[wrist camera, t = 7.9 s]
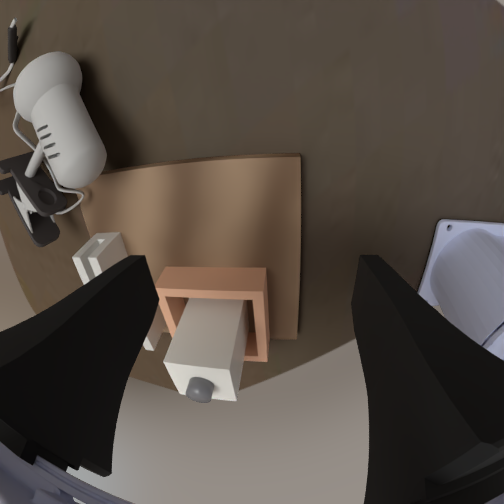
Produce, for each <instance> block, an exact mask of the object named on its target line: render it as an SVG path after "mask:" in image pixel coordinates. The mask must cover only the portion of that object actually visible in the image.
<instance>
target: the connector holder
mask: <svg viewBox="0 0 504 504" xmlns="http://www.w3.org/2000/svg"><path fill="white" fill-rule="evenodd" d="M155 287H156V290H157V293H158V296H159V299H160V300H159V305H160V308H161V311H162V313H163V316H164V319H165V321H166V324H167V326H168V329H169V331H170V334H171V336H172V339H173V336H174V334H175V331H176V329H177V326H178V324H179V321H180V319H181V316H182V314H183V312H184V309H185V307H186V306H185V303H184V299H183V297H187V298H209V299H238V300H253V309H254V319H255V329H256V333H252V332H248V337H247V343H246V349H245V355H244V361H259V362H268V352H269V341H270V332H269V312H268V292H267V273H266V268H239V267H165V269H164V270H163V272H162V274H161V275H160V277H159V279H158V280H157V282H156V284H155Z"/></svg>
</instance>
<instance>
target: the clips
mask: <svg viewBox="0 0 504 504" xmlns="http://www.w3.org/2000/svg"><path fill="white" fill-rule="evenodd" d="M126 257H128V255H127V252H126V249H125V246H124V243H123V240H122V237H121V233H120V232H111V233H96V234H95V235H94V236H93V237H92V238H91V239H90V240H89V241H88V242H87V243H86V244H85V245H84V246H83V247H82V248H81V249H80V250H79V251H78V252H77V253H76V254H75V255H74V256H73V257H72V258H73V261H74V263H75V265H76V268H77V270H78V272H79V275H80V277H81V279H82V281H83V283H84V285H85V284H86V283H88V282H89V281H90V280H92V279H93V278H95V277H96V276H98V275H99V274H101V273H102V272H104V271H105V270H107V269H108V268H110V267H111V266H113V265H114V264H116V263H117V262H119V261H121V260H122V259H124V258H126ZM165 325H166V321H165V319H164V316H163V313H162V311H161V308H160V305H159V303H158V307H157V310H156V314H155V317H154V320H153V323H152V325H151V327H150V330H149V332H148V334H147V336H146V338H145V341H144V343H143V345H144V347H145V349H146V350H153V351H154V350H155V347H156V345H157V343H158V340H159V338H160V336H161V334H162V331H163V329H164V327H165Z"/></svg>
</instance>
